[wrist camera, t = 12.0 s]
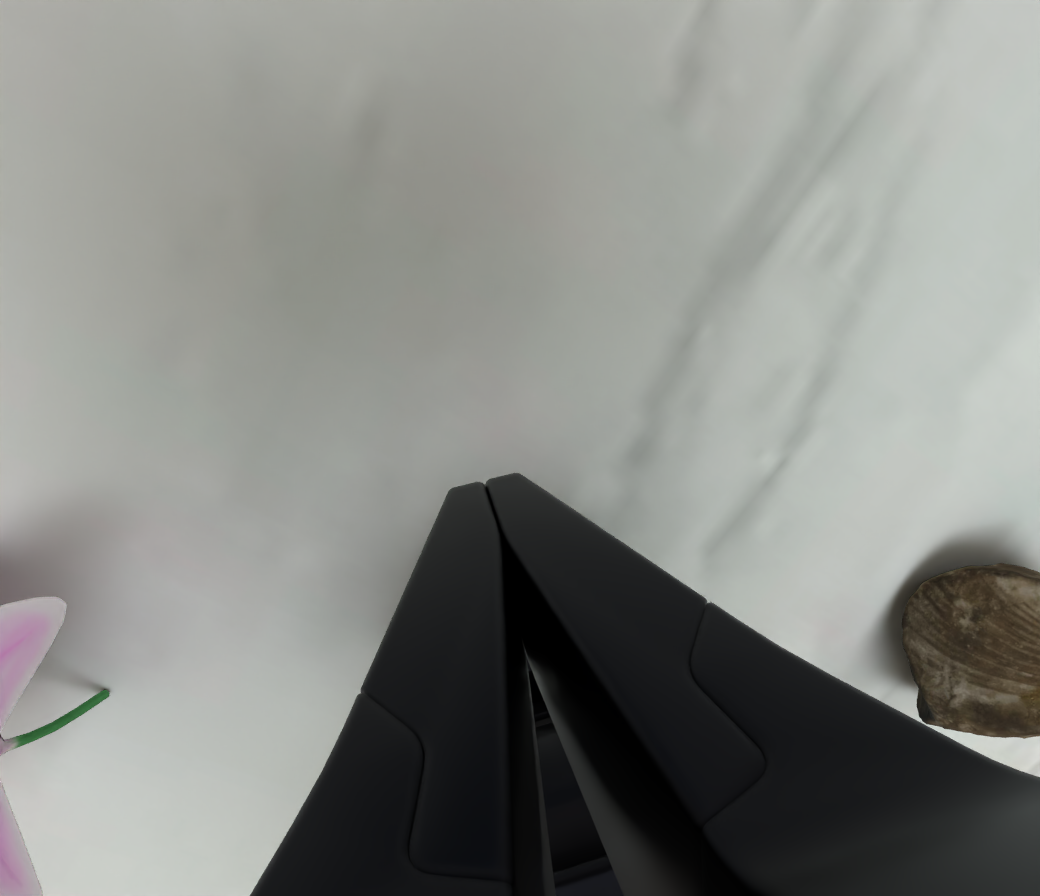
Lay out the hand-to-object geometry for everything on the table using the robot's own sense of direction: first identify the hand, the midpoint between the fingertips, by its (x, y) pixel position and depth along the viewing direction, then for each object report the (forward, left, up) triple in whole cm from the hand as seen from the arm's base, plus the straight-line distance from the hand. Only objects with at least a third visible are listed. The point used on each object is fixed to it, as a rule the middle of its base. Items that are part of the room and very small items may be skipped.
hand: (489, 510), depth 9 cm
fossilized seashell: (-14, -26, -13) cm, 32 cm away
